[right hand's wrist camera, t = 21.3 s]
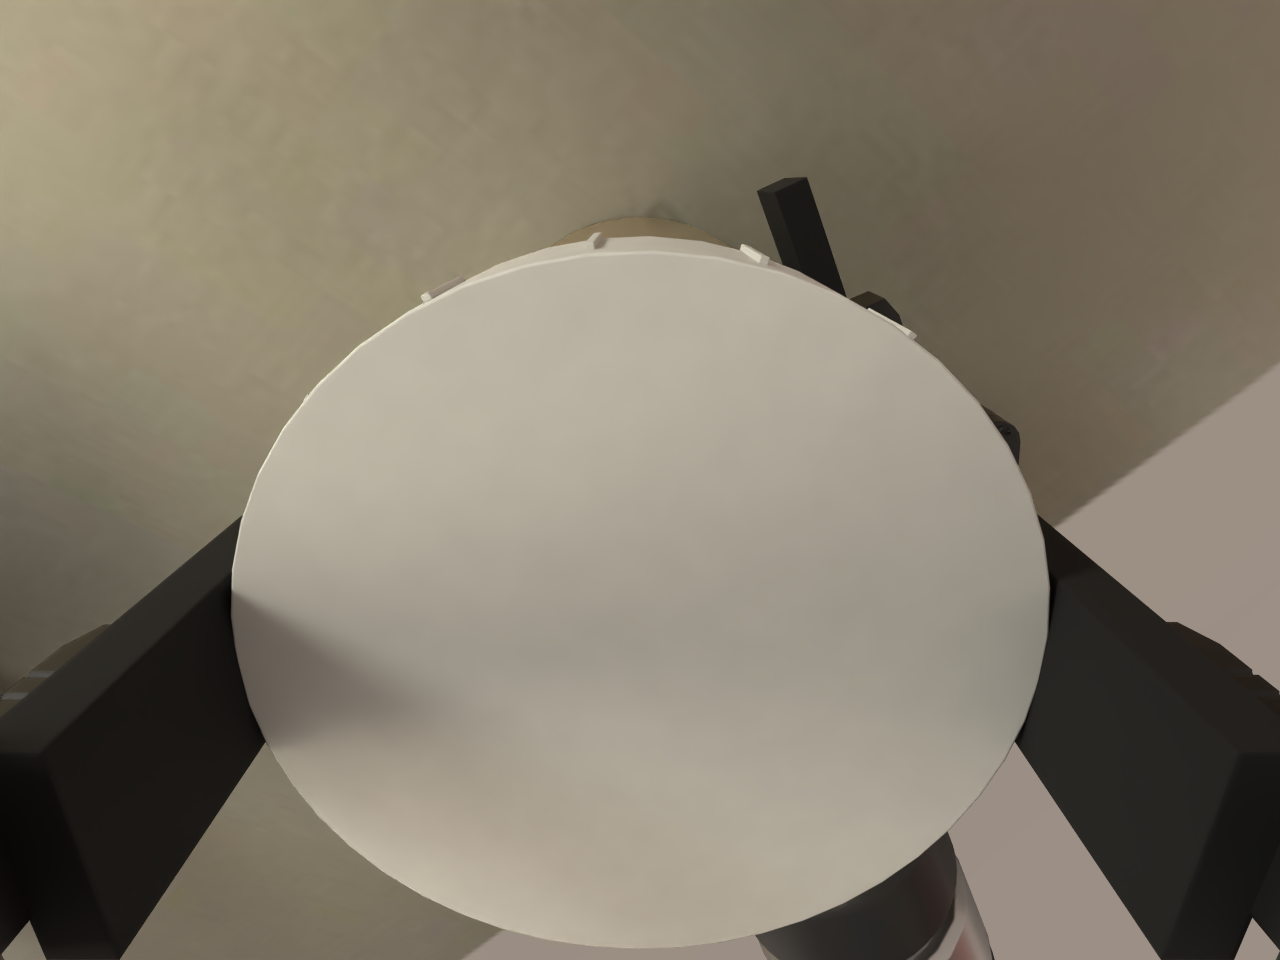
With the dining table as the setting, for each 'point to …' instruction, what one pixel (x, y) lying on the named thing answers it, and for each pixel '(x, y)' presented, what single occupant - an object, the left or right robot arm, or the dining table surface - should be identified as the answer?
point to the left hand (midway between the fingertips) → (571, 280)
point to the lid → (640, 596)
